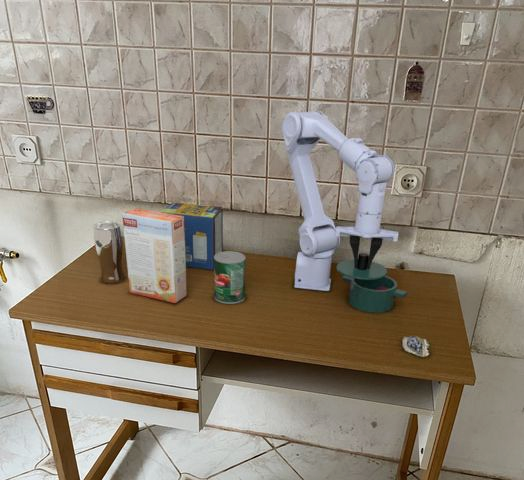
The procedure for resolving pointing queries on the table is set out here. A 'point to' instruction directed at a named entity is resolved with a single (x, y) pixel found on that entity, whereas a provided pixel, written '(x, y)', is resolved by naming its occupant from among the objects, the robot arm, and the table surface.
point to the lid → (361, 268)
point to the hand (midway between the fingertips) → (361, 266)
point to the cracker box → (155, 254)
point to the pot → (373, 294)
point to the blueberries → (416, 345)
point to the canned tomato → (229, 277)
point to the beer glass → (109, 251)
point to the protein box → (200, 232)
